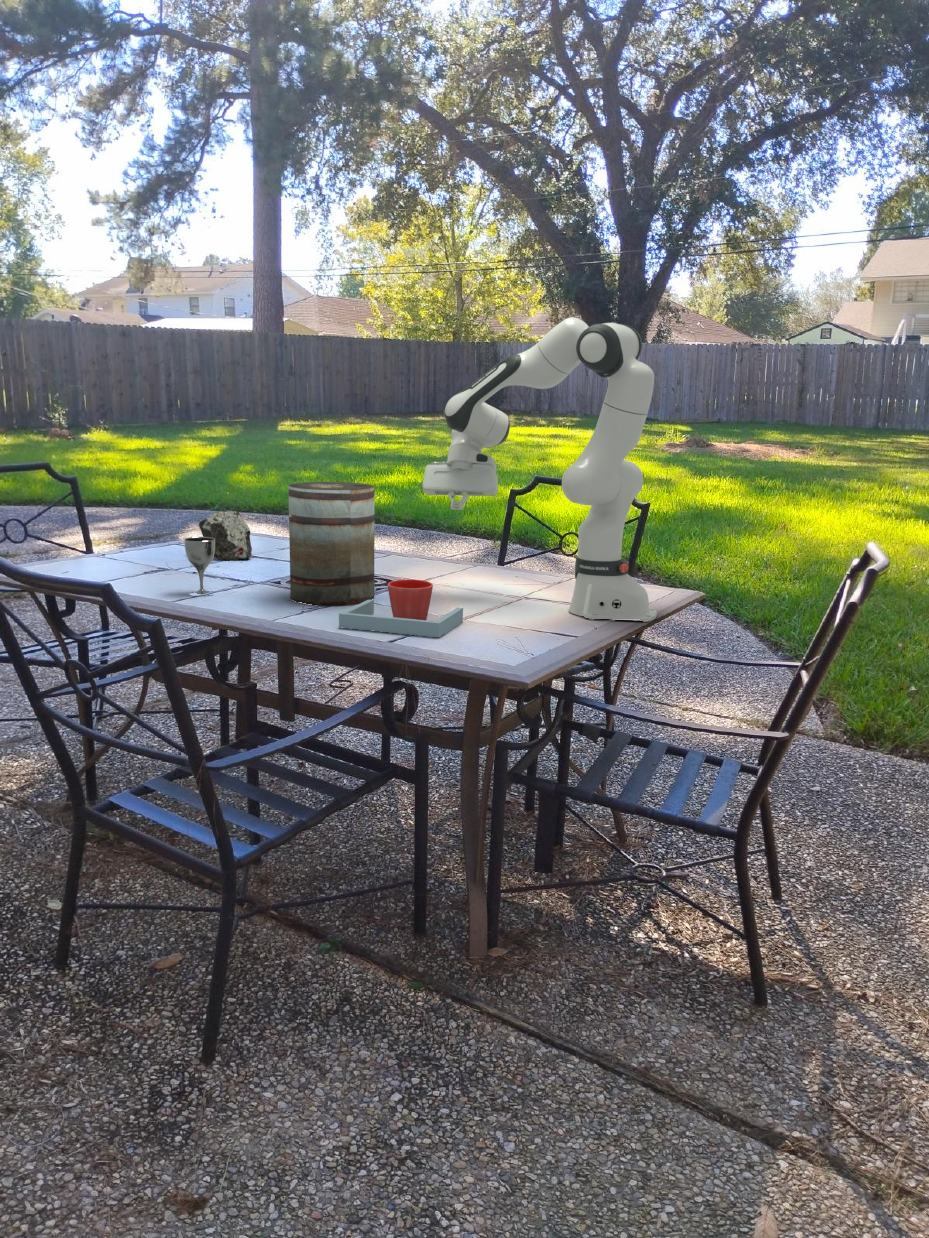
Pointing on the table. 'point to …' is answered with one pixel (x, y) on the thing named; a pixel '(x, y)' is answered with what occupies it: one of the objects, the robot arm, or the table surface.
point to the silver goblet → (200, 555)
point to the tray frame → (397, 621)
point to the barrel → (331, 543)
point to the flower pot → (410, 598)
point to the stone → (228, 535)
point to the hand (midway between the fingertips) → (456, 509)
